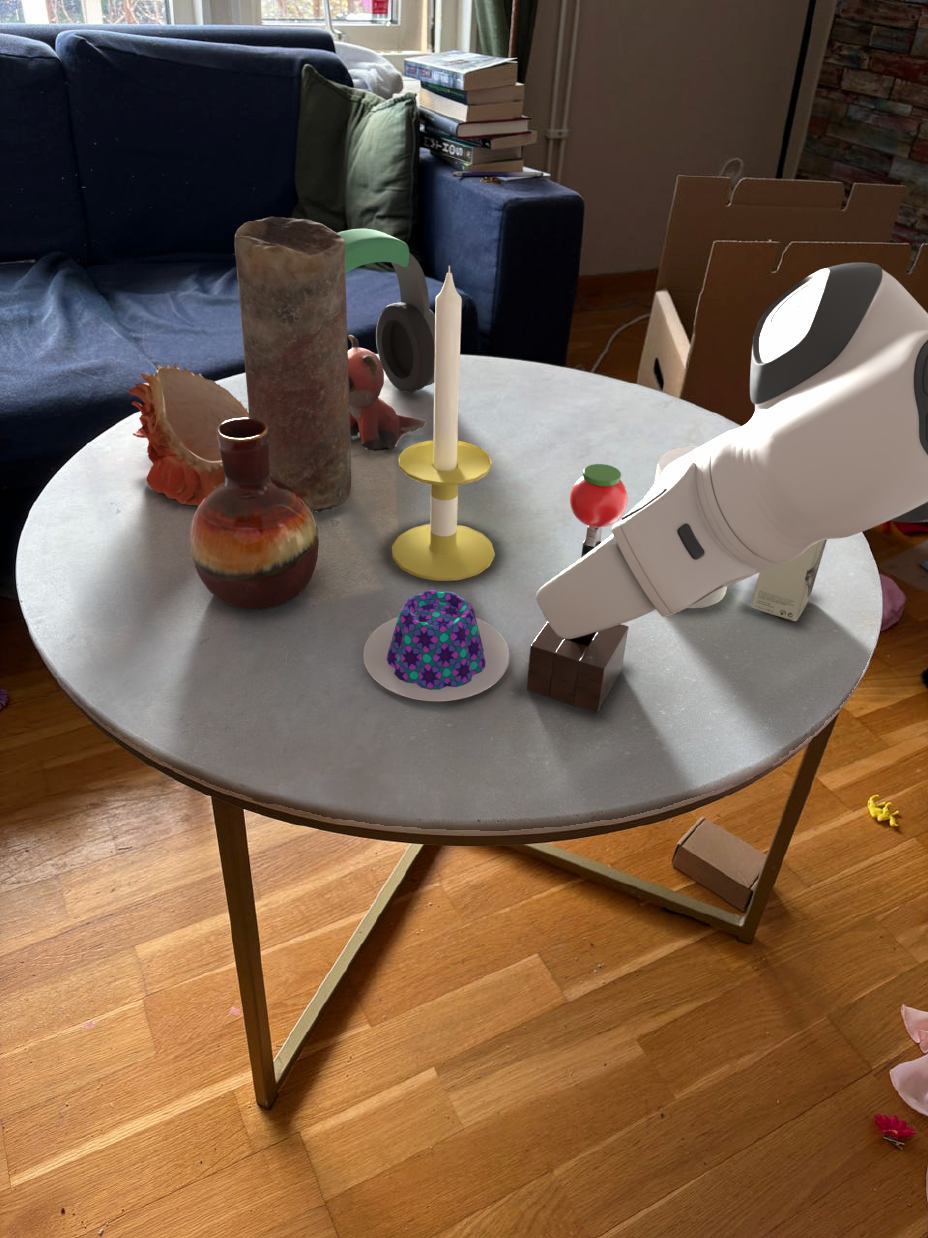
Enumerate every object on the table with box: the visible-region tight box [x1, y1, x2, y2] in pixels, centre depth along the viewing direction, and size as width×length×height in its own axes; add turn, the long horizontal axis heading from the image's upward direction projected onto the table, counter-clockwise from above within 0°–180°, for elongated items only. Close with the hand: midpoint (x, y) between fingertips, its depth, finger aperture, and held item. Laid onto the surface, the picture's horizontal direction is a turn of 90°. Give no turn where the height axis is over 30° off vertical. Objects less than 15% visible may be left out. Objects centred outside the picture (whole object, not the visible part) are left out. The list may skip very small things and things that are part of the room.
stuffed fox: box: [347, 334, 428, 453], centre depth 106 cm, size 8×11×12 cm
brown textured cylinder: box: [234, 216, 353, 513], centre depth 90 cm, size 10×10×27 cm
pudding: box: [362, 589, 511, 702], centre depth 76 cm, size 12×12×5 cm
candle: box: [391, 265, 496, 582], centre depth 83 cm, size 10×10×27 cm
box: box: [750, 539, 828, 622], centre depth 82 cm, size 5×4×13 cm
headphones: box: [337, 228, 436, 393], centre depth 114 cm, size 19×11×20 cm, turn 126°
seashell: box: [127, 362, 249, 506], centre depth 100 cm, size 17×11×15 cm
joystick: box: [569, 463, 628, 647], centre depth 70 cm, size 4×4×19 cm
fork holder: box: [526, 621, 630, 714], centre depth 75 cm, size 6×6×4 cm
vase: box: [189, 418, 320, 611], centre depth 81 cm, size 11×11×15 cm
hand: (580, 580), depth 71 cm, fingers closed on joystick
